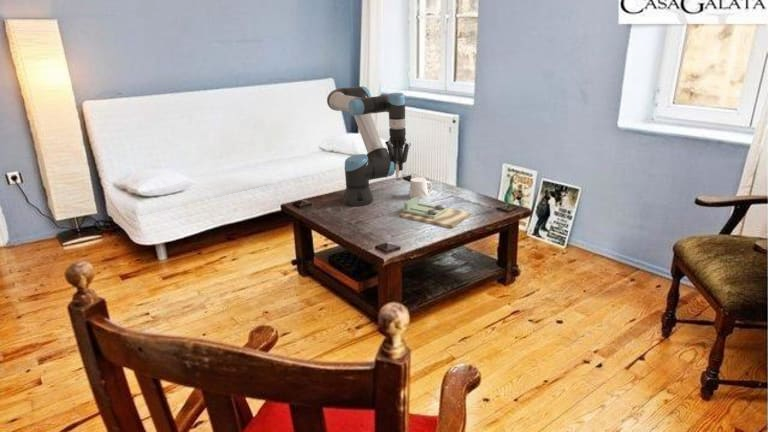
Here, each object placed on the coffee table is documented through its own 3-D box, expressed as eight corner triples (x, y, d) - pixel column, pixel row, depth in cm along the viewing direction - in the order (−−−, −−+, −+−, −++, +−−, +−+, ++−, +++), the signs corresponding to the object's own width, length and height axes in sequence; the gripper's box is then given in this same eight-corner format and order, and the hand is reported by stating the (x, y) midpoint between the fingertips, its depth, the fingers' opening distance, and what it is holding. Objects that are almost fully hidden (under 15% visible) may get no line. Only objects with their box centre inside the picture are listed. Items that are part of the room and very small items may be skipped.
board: (399, 216, 236) (399, 209, 234) (419, 204, 249) (419, 197, 248) (452, 228, 220) (452, 220, 219) (471, 215, 234) (471, 207, 232)
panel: (403, 211, 237) (402, 203, 236) (416, 203, 246) (416, 196, 245) (434, 218, 228) (434, 210, 226) (447, 209, 237) (447, 202, 235)
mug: (411, 182, 252) (407, 178, 259) (412, 200, 256) (407, 195, 263) (434, 180, 255) (429, 175, 262) (434, 197, 258) (429, 192, 266)
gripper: (381, 127, 232) (383, 176, 240) (404, 130, 224) (405, 180, 233) (390, 124, 237) (391, 172, 246) (413, 127, 230) (414, 176, 239)
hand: (398, 176), depth 240 cm, fingers closed
